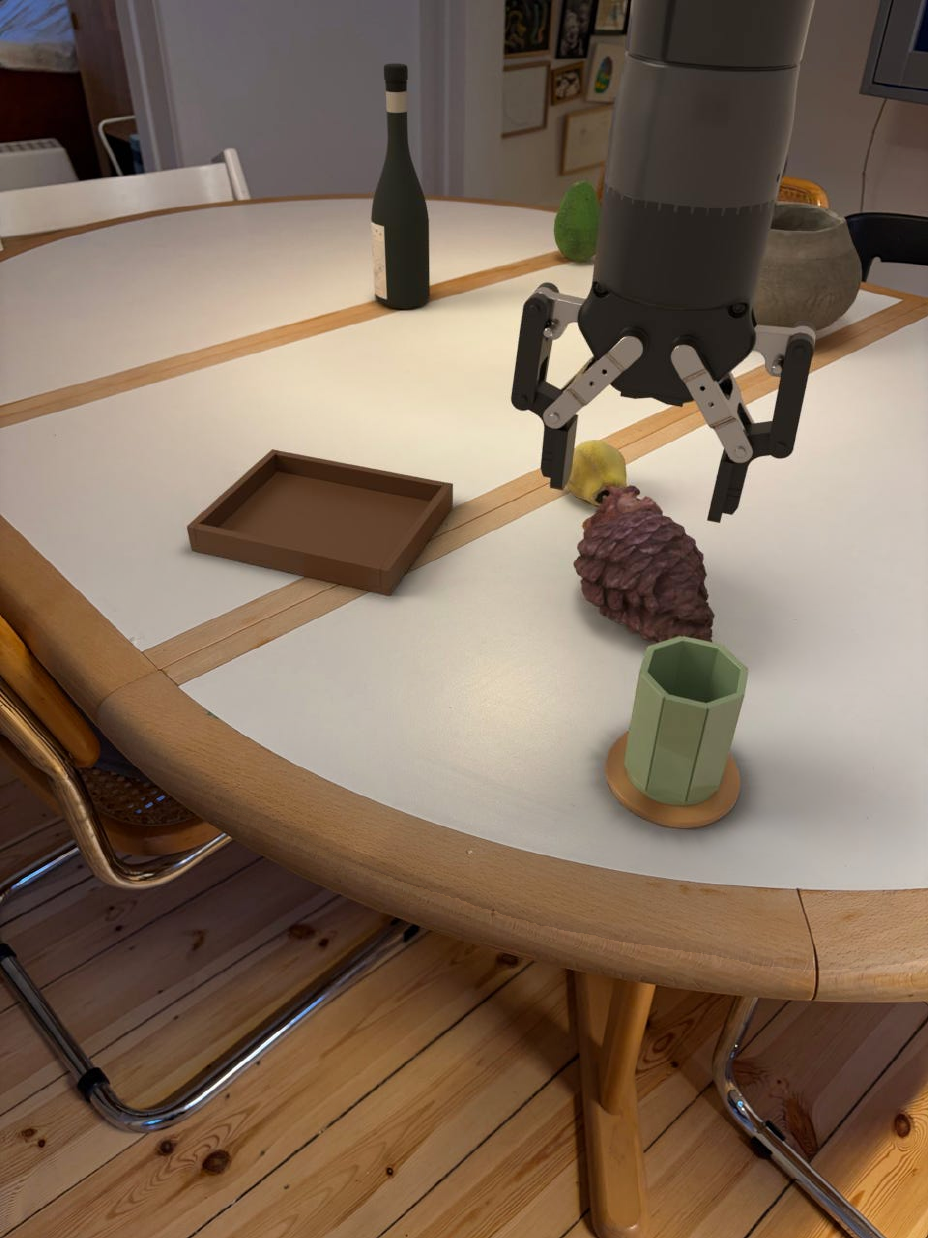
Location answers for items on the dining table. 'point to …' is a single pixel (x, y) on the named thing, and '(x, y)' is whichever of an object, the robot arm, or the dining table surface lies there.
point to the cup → (684, 720)
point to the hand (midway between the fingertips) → (636, 498)
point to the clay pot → (807, 268)
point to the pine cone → (643, 569)
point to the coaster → (663, 812)
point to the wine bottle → (399, 210)
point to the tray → (324, 520)
